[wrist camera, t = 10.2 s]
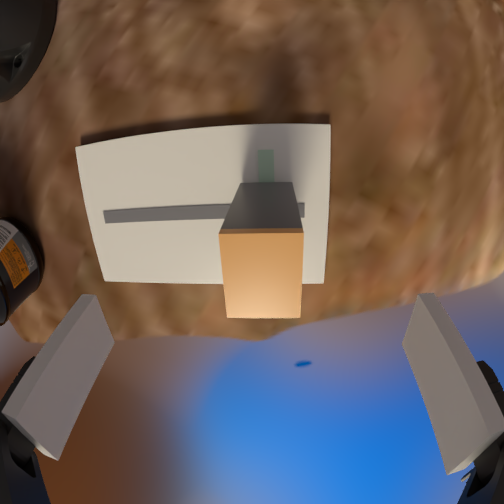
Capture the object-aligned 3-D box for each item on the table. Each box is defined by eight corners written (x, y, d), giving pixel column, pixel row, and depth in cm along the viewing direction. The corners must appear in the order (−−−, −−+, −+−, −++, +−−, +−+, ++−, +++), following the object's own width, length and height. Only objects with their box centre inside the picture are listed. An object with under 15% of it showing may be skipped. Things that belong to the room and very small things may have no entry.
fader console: (80, 145, 24) (74, 147, 23) (328, 124, 22) (330, 124, 21) (108, 276, 30) (104, 281, 29) (322, 278, 28) (323, 284, 27)
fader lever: (240, 182, 23) (218, 234, 14) (292, 182, 23) (303, 232, 14) (243, 241, 26) (227, 317, 17) (291, 241, 25) (300, 317, 16)
